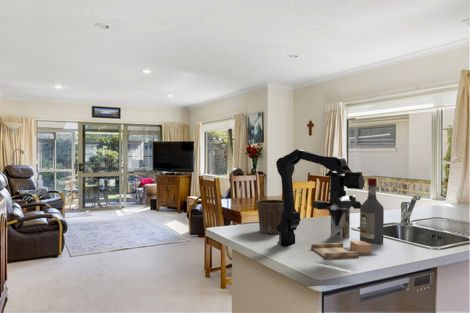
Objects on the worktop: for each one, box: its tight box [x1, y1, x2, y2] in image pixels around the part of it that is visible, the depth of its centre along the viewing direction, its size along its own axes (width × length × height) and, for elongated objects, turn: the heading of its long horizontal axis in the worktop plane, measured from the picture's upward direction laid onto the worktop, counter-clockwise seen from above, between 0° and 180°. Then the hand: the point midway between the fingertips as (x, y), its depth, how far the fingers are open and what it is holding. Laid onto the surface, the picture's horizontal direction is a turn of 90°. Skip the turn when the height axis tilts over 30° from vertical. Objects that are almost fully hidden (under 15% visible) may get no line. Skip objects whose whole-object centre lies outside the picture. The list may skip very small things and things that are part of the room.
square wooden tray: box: [310, 242, 360, 260], centre depth 143 cm, size 14×14×3 cm
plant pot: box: [255, 199, 284, 235], centre depth 185 cm, size 16×16×16 cm
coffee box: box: [330, 208, 351, 240], centre depth 173 cm, size 9×6×16 cm
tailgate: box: [343, 247, 378, 257], centre depth 145 cm, size 10×11×1 cm
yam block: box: [349, 240, 372, 253], centre depth 145 cm, size 6×6×4 cm
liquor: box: [359, 177, 385, 245], centre depth 165 cm, size 9×9×30 cm
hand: (336, 225), depth 143 cm, fingers closed
